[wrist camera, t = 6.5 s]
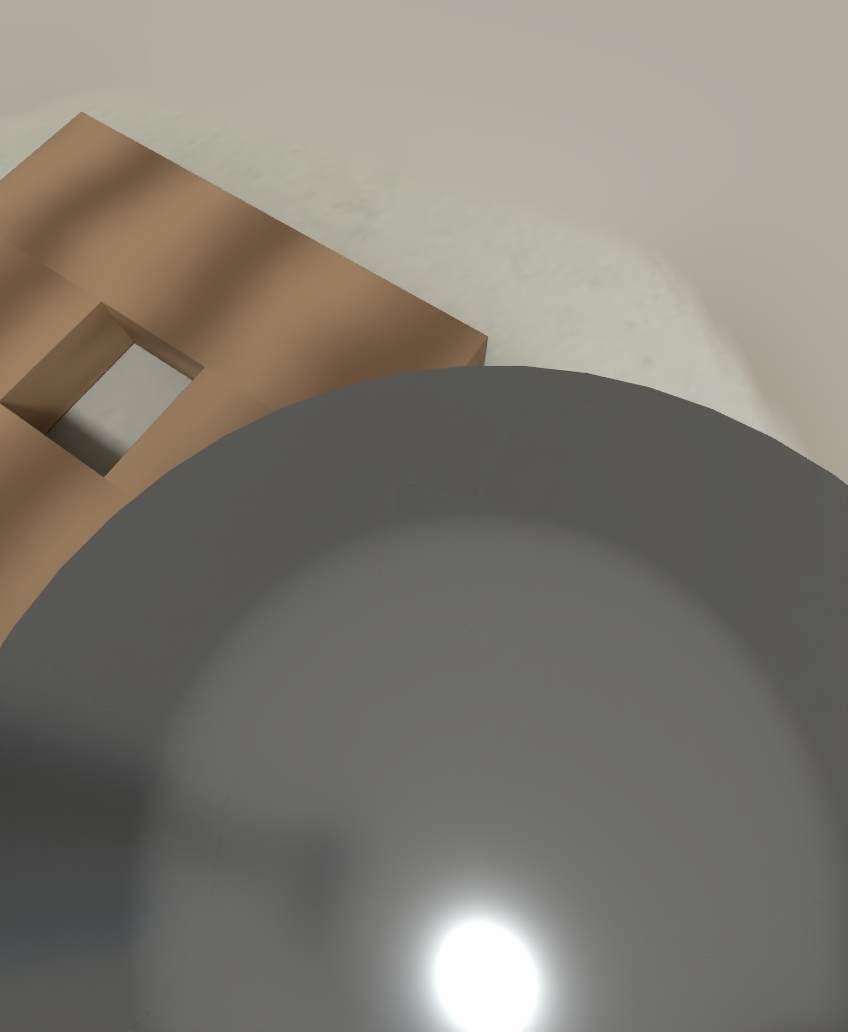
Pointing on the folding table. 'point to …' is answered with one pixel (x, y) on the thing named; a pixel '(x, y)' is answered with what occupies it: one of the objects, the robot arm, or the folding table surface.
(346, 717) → the steel peg
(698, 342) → the folding table surface
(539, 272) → the folding table surface
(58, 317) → the walnut hole block
